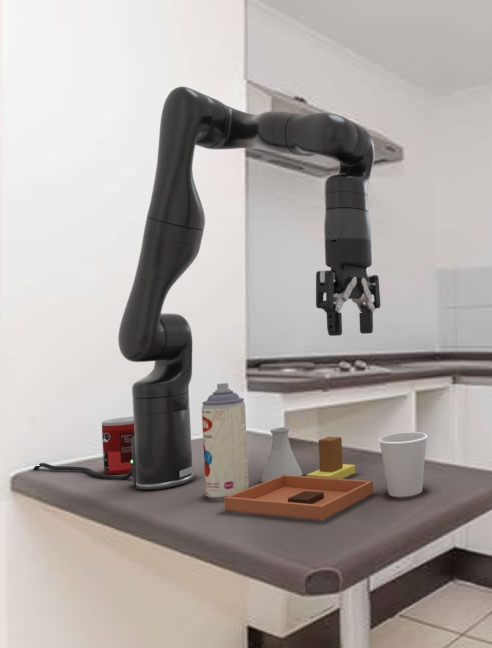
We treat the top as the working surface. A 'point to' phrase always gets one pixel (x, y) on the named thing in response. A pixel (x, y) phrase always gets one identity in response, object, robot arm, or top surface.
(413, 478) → the dixie cup
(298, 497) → the block
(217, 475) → the aerosol can
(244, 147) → the robot arm
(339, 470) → the brush
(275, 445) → the flask
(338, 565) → the top surface
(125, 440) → the canned food
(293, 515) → the orange tray
